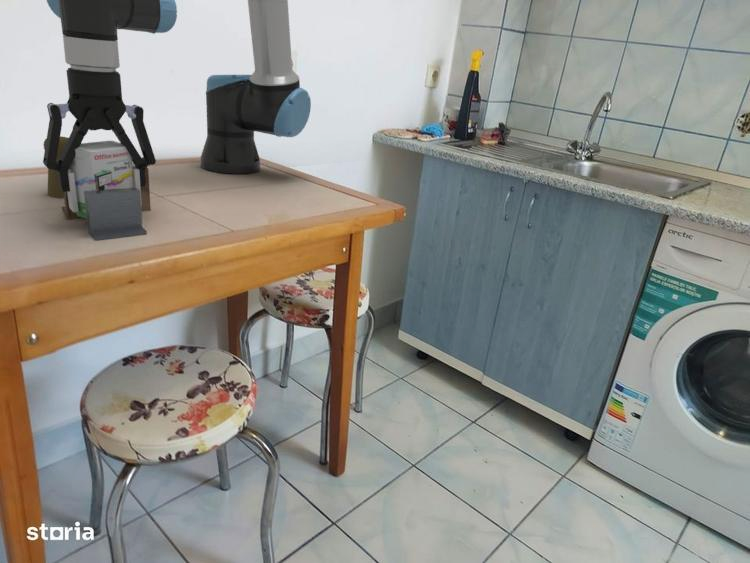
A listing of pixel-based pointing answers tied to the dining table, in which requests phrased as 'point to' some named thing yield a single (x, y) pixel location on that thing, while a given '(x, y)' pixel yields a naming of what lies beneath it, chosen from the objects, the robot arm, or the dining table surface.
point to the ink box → (101, 169)
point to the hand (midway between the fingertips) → (106, 206)
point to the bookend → (114, 213)
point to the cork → (56, 172)
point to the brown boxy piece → (144, 199)
